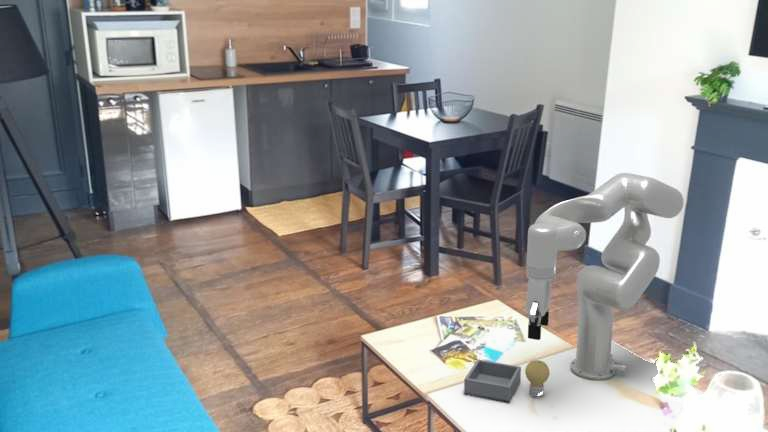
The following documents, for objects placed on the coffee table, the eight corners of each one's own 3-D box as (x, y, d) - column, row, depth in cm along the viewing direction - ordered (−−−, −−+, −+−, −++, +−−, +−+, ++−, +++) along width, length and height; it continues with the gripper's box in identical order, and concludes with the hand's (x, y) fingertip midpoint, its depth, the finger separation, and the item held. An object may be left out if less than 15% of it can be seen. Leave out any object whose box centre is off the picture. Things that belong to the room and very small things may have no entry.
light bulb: (548, 401, 194) (550, 368, 192) (524, 399, 196) (525, 366, 193) (548, 389, 200) (549, 357, 198) (524, 388, 202) (525, 355, 199)
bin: (520, 382, 205) (520, 366, 204) (509, 403, 194) (509, 387, 193) (477, 374, 210) (477, 359, 209) (464, 394, 199) (464, 379, 198)
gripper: (534, 259, 197) (531, 317, 202) (518, 279, 182) (516, 342, 187) (561, 262, 194) (558, 321, 199) (548, 283, 179) (545, 347, 184)
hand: (538, 331), depth 193 cm, fingers open, 9 cm apart
